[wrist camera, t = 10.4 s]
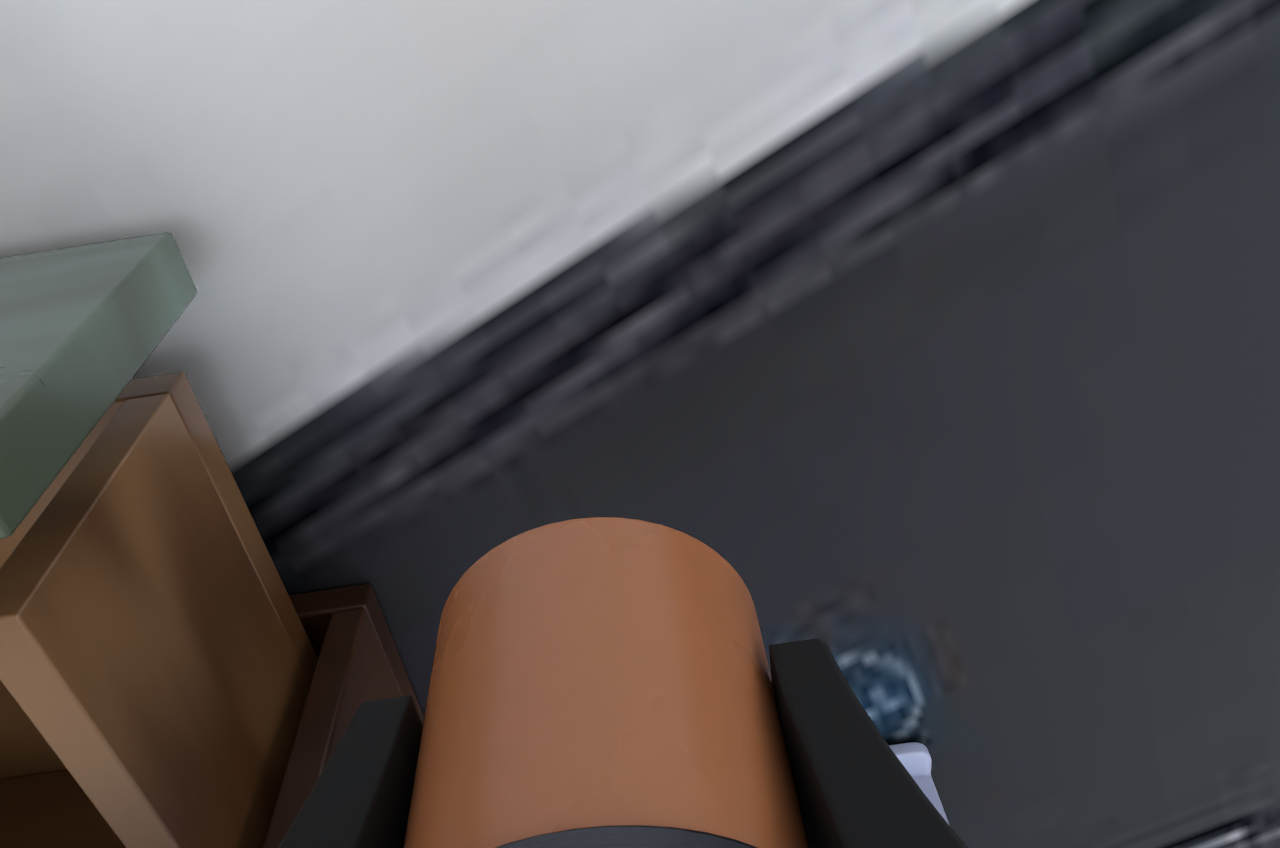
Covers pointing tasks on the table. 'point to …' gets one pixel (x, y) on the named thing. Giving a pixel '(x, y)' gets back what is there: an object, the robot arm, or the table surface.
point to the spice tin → (602, 701)
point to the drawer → (129, 576)
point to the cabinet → (336, 686)
